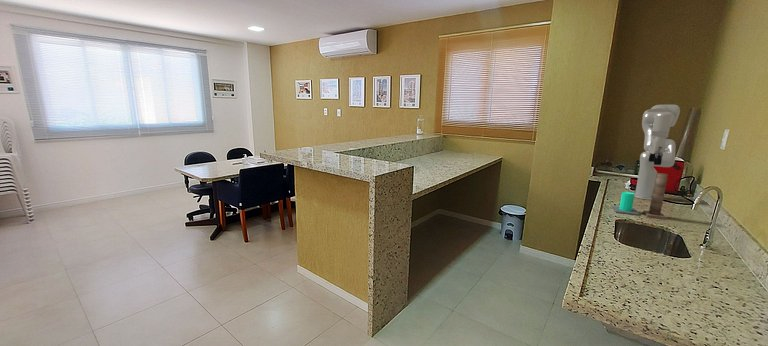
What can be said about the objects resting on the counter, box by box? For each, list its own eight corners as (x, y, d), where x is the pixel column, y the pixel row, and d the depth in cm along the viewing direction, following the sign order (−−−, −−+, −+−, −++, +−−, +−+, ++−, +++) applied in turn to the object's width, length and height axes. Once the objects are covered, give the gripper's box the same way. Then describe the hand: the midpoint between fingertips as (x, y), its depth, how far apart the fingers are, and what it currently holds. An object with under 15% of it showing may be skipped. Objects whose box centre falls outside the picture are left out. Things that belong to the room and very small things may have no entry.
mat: (612, 207, 196) (612, 205, 195) (633, 209, 191) (634, 208, 191) (615, 212, 186) (616, 211, 186) (638, 215, 181) (639, 214, 181)
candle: (634, 211, 186) (637, 191, 183) (624, 211, 186) (627, 191, 183) (626, 207, 191) (630, 188, 189) (616, 207, 191) (619, 189, 189)
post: (643, 212, 186) (650, 172, 180) (660, 214, 182) (668, 173, 177) (647, 217, 179) (655, 175, 173) (665, 219, 175) (674, 176, 170)
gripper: (647, 132, 192) (642, 160, 196) (656, 135, 177) (651, 165, 181) (662, 133, 189) (657, 161, 193) (673, 136, 174) (667, 166, 178)
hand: (654, 163), depth 187 cm, fingers open, 9 cm apart
